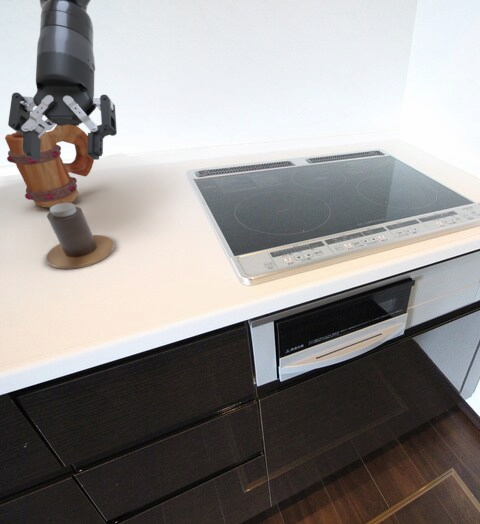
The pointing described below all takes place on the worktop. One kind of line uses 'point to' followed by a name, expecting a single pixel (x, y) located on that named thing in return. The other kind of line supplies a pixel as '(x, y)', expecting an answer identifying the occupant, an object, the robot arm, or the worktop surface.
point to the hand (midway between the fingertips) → (63, 157)
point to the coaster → (62, 261)
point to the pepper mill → (71, 229)
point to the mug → (51, 165)
